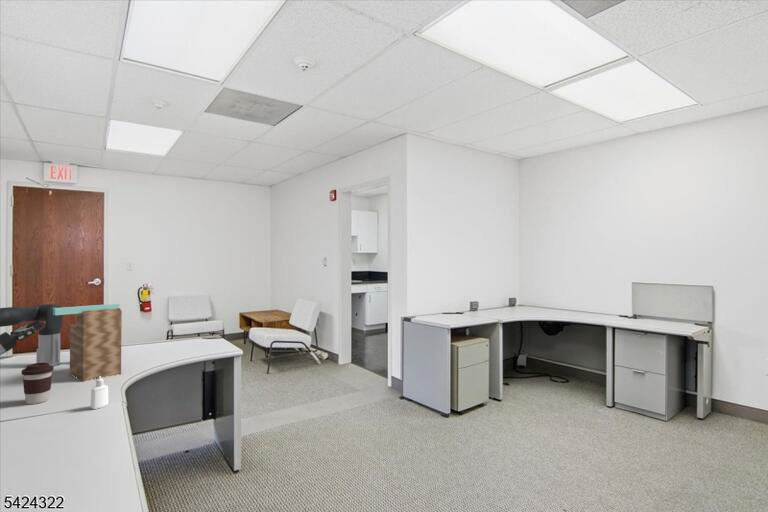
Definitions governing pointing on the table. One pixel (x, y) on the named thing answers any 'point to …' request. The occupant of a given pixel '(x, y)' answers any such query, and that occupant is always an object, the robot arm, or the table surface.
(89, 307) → the block
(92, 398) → the eye dropper bottle
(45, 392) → the coffee cup
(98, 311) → the stand
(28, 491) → the table surface
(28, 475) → the table surface
